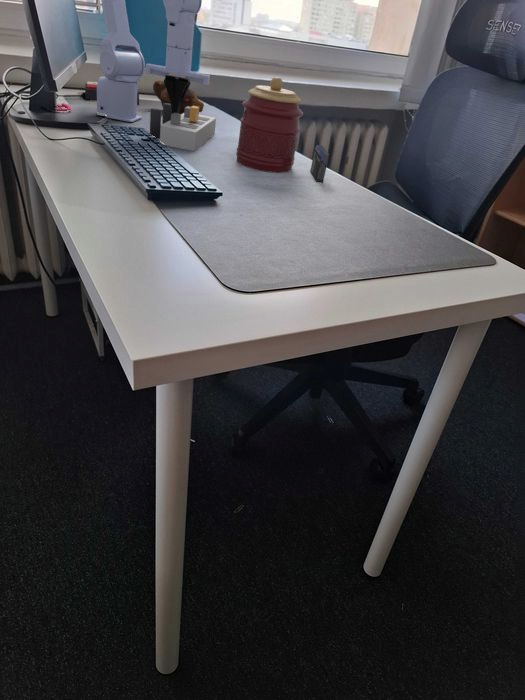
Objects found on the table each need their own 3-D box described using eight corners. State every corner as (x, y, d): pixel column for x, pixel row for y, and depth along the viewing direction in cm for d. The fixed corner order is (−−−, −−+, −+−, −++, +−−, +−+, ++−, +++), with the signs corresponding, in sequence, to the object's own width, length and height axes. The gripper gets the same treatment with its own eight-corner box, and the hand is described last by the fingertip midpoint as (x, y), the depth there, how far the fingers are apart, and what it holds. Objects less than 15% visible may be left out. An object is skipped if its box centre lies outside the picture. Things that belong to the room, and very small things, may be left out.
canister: (225, 155, 116) (235, 68, 106) (275, 157, 122) (288, 75, 112) (251, 173, 107) (264, 79, 97) (303, 174, 113) (320, 86, 103)
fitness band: (75, 115, 128) (75, 108, 127) (52, 114, 124) (52, 108, 124) (61, 107, 133) (61, 101, 132) (38, 107, 129) (38, 100, 128)
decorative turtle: (153, 106, 153) (157, 76, 149) (203, 118, 155) (208, 90, 151) (147, 109, 145) (150, 78, 141) (199, 122, 146) (204, 92, 142)
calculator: (85, 80, 153) (136, 84, 157) (86, 95, 156) (137, 99, 160) (84, 85, 145) (138, 89, 149) (85, 102, 147) (139, 106, 151)
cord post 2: (160, 130, 127) (162, 103, 124) (163, 128, 129) (164, 102, 126) (170, 131, 127) (171, 105, 124) (172, 130, 129) (174, 104, 126)
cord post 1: (148, 137, 119) (149, 109, 116) (151, 135, 121) (152, 107, 118) (158, 139, 119) (159, 111, 116) (161, 137, 121) (162, 109, 118)
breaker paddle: (189, 121, 120) (190, 107, 119) (192, 119, 123) (193, 105, 121) (195, 122, 120) (196, 108, 119) (198, 120, 123) (199, 106, 121)
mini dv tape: (310, 172, 116) (315, 144, 113) (316, 173, 116) (322, 145, 113) (316, 182, 109) (322, 153, 106) (322, 183, 109) (329, 154, 106)
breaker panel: (159, 144, 115) (161, 115, 112) (184, 128, 133) (186, 103, 130) (194, 151, 115) (196, 122, 112) (214, 134, 133) (217, 109, 130)
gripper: (142, 41, 111) (140, 109, 118) (207, 54, 111) (201, 121, 118) (152, 41, 117) (149, 105, 124) (214, 53, 116) (208, 117, 124)
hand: (175, 113), depth 121 cm, fingers closed
